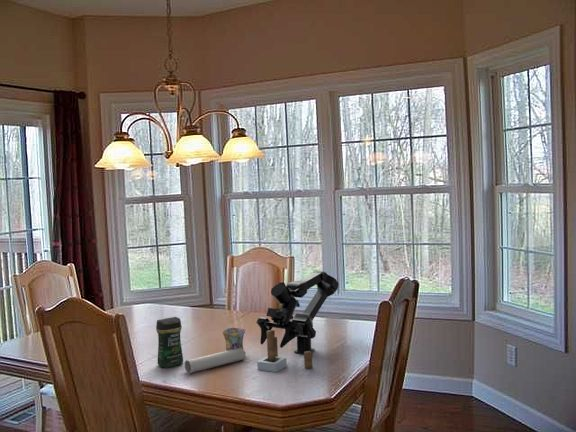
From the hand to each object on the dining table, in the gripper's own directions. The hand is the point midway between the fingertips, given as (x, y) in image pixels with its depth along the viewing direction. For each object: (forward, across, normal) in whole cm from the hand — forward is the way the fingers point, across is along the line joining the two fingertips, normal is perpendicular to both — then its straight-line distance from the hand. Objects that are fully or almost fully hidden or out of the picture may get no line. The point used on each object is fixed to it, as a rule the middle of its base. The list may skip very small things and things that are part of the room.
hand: (270, 345), depth 209 cm
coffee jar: (+18, -38, -6) cm, 42 cm away
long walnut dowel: (+6, 0, +6) cm, 8 cm away
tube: (+12, -20, 0) cm, 24 cm away
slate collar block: (+6, 0, +6) cm, 8 cm away
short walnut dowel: (+2, +12, +10) cm, 16 cm away
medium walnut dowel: (+1, -5, +12) cm, 12 cm away
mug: (+3, -23, +9) cm, 25 cm away
